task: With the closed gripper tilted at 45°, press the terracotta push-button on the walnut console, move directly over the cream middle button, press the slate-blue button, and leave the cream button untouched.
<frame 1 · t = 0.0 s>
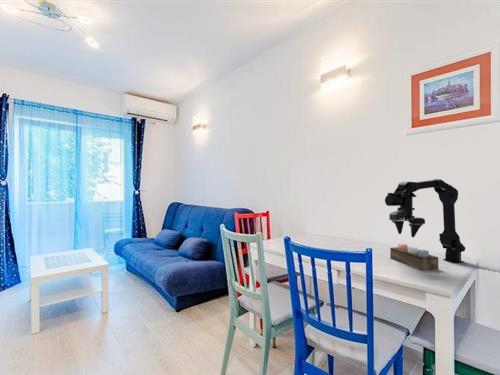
hand: (406, 235, 137), 14 cm above the table, fingers open, 9 cm apart
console: (412, 263, 137), on the table
slate button: (423, 255, 130), point 6 cm above the table, slide at 0.0 cm
cream button: (412, 252, 137), point 6 cm above the table, slide at 0.0 cm
terracotta button: (402, 249, 144), point 6 cm above the table, slide at 0.0 cm
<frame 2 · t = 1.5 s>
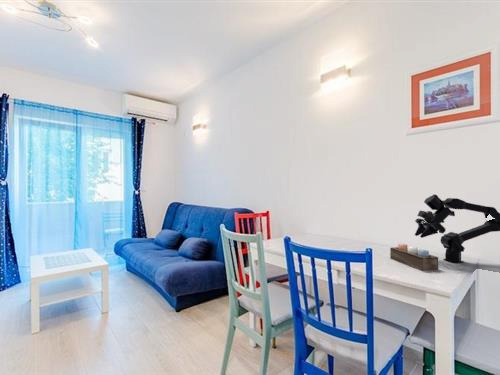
hand: (418, 236, 143), 13 cm above the table, fingers open, 5 cm apart
nothing on the table moved.
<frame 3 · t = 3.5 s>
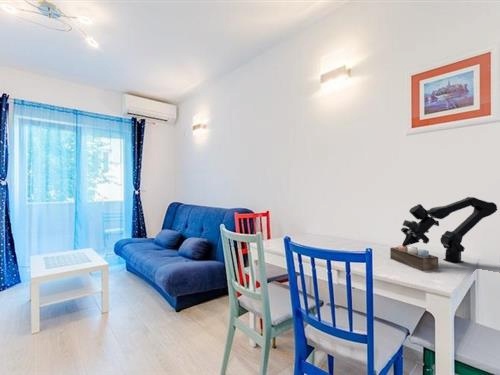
hand: (402, 245, 144), 8 cm above the table, fingers closed, pressing on terracotta button
terracotta button: (402, 250, 144), point 5 cm above the table, slide at 1.0 cm, touching gripper
everything else where it was.
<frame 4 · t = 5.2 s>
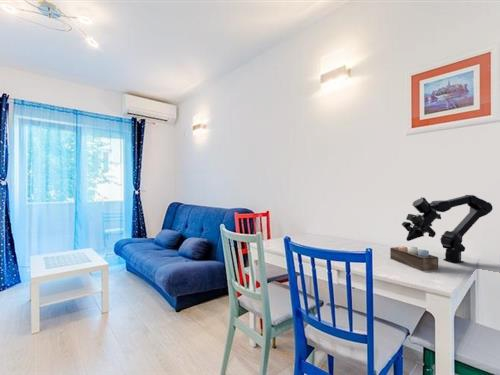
hand: (407, 240, 139), 12 cm above the table, fingers closed
terracotta button: (402, 251, 144), point 5 cm above the table, slide at 1.4 cm
everything else where it was.
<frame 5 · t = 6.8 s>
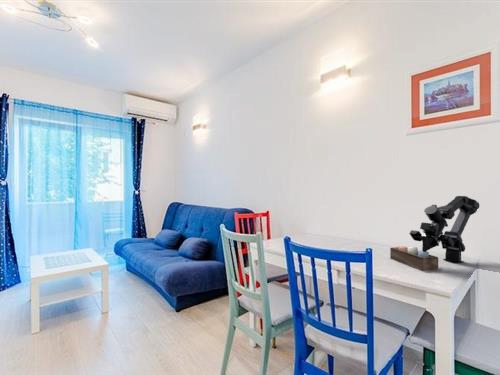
hand: (423, 251, 130), 8 cm above the table, fingers closed, pressing on slate button
slate button: (423, 256, 130), point 5 cm above the table, slide at 0.6 cm, touching gripper
everything else where it was.
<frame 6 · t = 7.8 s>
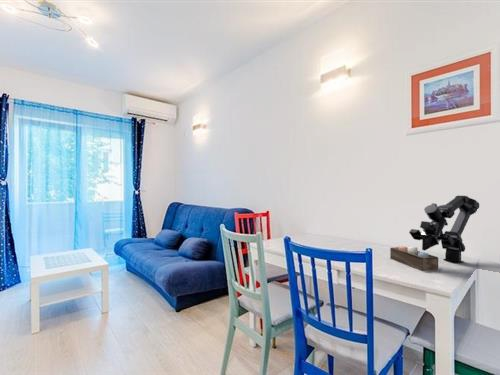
hand: (423, 249, 130), 9 cm above the table, fingers closed
slate button: (423, 258, 130), point 5 cm above the table, slide at 1.4 cm
everything else where it was.
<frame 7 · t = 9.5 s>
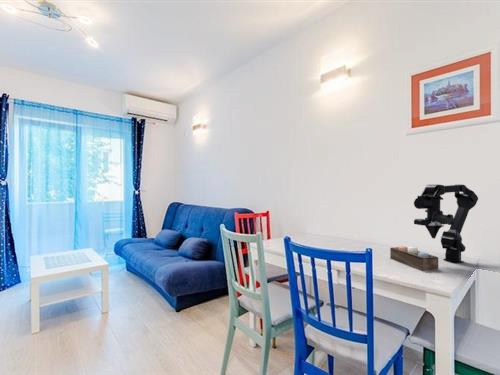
hand: (433, 238, 138), 13 cm above the table, fingers closed
nothing on the table moved.
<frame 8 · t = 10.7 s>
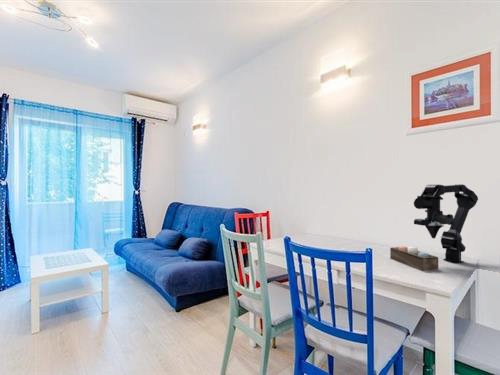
hand: (433, 238, 138), 13 cm above the table, fingers closed
nothing on the table moved.
at the end: terracotta button slide at 1.4 cm; slate button slide at 1.4 cm; cream button slide at 0.0 cm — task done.
